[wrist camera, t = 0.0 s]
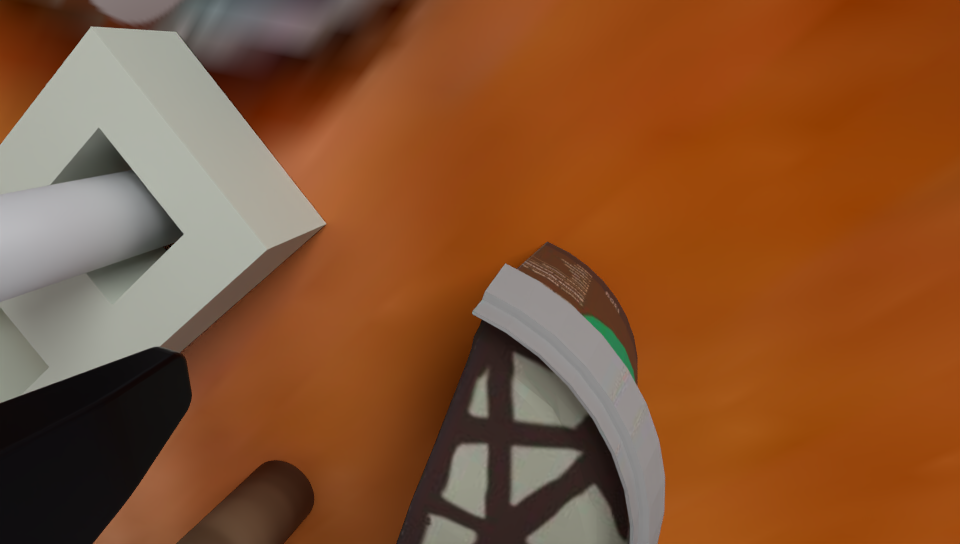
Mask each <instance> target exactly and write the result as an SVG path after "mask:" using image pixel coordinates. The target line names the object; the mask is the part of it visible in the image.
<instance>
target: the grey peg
mask: <svg viewBox="0 0 960 544" xmlns="http://www.w3.org/2000/svg"><path fill="white" fill-rule="evenodd" d="M183 235H184V234H183V232H182V231H181V230H180V229H179V227H178V226H177V225H176V224H175V222H174V221H173V220H172V219H171V217H170V216H169V215H168V214H167V212H166V211H165V210H164V209H163V207H162V206H161V205H160V203H159V202H158V201H157V200H156V198H155V197H154V196H153V195H152V193H151V192H150V191H149V190H148V188H147V187H146V186H145V185H144V183H143V182H142V181H141V180H140V178H139V177H138V176H137V175H136V173H135V172H134V171H133V170H128V171H123V172H117V173H112V174H107V175H101V176H96V177H90V178H85V179H80V180H74V181H69V182H64V183H58V184H53V185H48V186H42V187H37V188H31V189H26V190H21V191H15V192H10V193H5V194H0V302H2V301H5V300H8V299H11V298H14V297H17V296H20V295H23V294H25V293H28V292H31V291H34V290H37V289H40V288H43V287H46V286H49V285H52V284H55V283H58V282H61V281H63V280H66V279H69V278H72V277H75V276H78V275H81V274H84V273H87V272H90V271H93V270H96V269H99V268H102V267H104V266H107V265H110V264H113V263H116V262H119V261H122V260H125V259H128V258H131V257H134V256H137V255H140V254H142V253H145V252H148V251H151V250H154V249H157V248H160V247H163V246H166V245H169V244H172V243H175V242H176V241H178V240H179V239H180V238H181V237H182V236H183Z"/></svg>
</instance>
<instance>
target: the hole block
mask: <svg viewBox="0 0 960 544" xmlns="http://www.w3.org/2000/svg"><path fill="white" fill-rule="evenodd" d="M128 170H133V171H134V172H135V173H136V175H137V176H138V177H139V178H140V180H141V181H142V182H143V183H144V185H145V186H146V187H147V188H148V190H149V191H150V192H151V193H152V195H153V196H154V197H155V198H156V200H157V201H158V202H159V203H160V205H161V206H162V207H163V209H164V210H165V211H166V212H167V214H168V215H169V216H170V217H171V219H172V220H173V221H174V222H175V224H176V225H177V226H178V227H179V229H180V230H181V231H182V232H183V234H184V235H183V236H182V237H181V238H180V239H179V240H178V241H176V242H175V243H174V244H173V245H172V246H171V247H170V248H169V249H168V250H167V251H166V250H165V248H164V247H160V248H157V249H154V250H151V251H148V252H145V253H142V254H140V255H137V256H134V257H131V258H128V259H125V260H122V261H119V262H116V263H113V264H110V265H107V266H104V267H102V268H99V269H96V270H93V271H90V272H87V273H84V274H81V275H78V276H75V277H72V278H69V279H66V280H63V281H61V282H58V283H55V284H52V285H49V286H46V287H43V288H40V289H37V290H34V291H31V292H28V293H25V294H23V295H20V296H17V297H14V298H11V299H8V300H5V301H2V302H0V403H1V402H4V401H7V400H10V399H12V398H15V397H18V396H21V395H23V394H26V393H29V392H31V391H34V390H37V389H40V388H42V387H45V386H48V385H51V384H53V383H56V382H59V381H61V380H64V379H67V378H70V377H72V376H75V375H78V374H81V373H83V372H86V371H89V370H91V369H94V368H97V367H100V366H102V365H105V364H108V363H111V362H113V361H116V360H119V359H122V358H124V357H127V356H130V355H132V354H135V353H138V352H141V351H143V350H146V349H149V348H152V347H164V348H167V349H170V350H173V351H176V352H179V353H180V352H181V351H182V350H183V349H185V348H186V347H187V346H188V345H189V344H190V343H191V342H193V341H194V340H195V339H196V338H197V337H198V336H199V335H201V334H202V333H203V332H204V331H205V330H206V329H207V328H208V327H210V326H211V325H212V324H213V323H214V322H215V321H216V320H218V319H219V318H220V317H221V316H222V315H223V314H224V313H226V312H227V311H228V310H229V309H230V308H231V307H232V306H234V305H235V304H236V303H237V302H238V301H239V300H240V299H242V298H243V297H244V296H245V295H246V294H247V293H248V292H249V291H251V290H252V289H253V288H254V287H255V286H256V285H257V284H259V283H260V282H261V281H262V280H263V279H264V278H265V277H267V276H268V275H269V274H270V273H271V272H272V271H273V270H275V269H276V268H277V267H278V266H279V265H280V264H281V263H282V262H284V261H285V260H286V259H287V258H288V257H289V256H290V255H292V254H293V253H294V252H295V251H296V250H297V249H298V248H300V247H301V246H302V245H303V244H304V243H305V242H306V241H308V240H309V239H310V238H311V237H312V236H313V235H314V234H316V233H317V232H318V231H319V230H320V229H321V228H322V227H323V226H325V225H326V223H325V221H324V220H323V219H322V218H321V216H320V215H319V214H318V213H317V211H316V210H315V209H314V207H313V206H312V205H311V204H310V202H309V201H308V200H307V199H306V197H305V196H304V195H303V193H302V192H301V191H300V190H299V188H298V187H297V186H296V184H295V183H294V182H293V181H292V179H291V178H290V177H289V176H288V174H287V173H286V172H285V170H284V169H283V168H282V167H281V165H280V164H279V163H278V161H277V160H276V159H275V158H274V156H273V155H272V154H271V153H270V151H269V150H268V149H267V147H266V146H265V145H264V144H263V142H262V141H261V140H260V139H259V137H258V136H257V135H256V133H255V132H254V131H253V130H252V128H251V127H250V126H249V124H248V123H247V122H246V121H245V119H244V118H243V117H242V116H241V114H240V113H239V112H238V110H237V109H236V108H235V107H234V105H233V104H232V103H231V102H230V100H229V99H228V98H227V96H226V95H225V94H224V93H223V91H222V90H221V89H220V87H219V86H218V85H217V84H216V82H215V81H214V80H213V79H212V77H211V76H210V75H209V73H208V72H207V71H206V70H205V68H204V67H203V66H202V64H201V63H200V62H199V61H198V59H197V58H196V57H195V56H194V54H193V53H192V52H191V50H190V49H189V48H188V47H187V45H186V44H185V43H184V42H183V40H182V39H181V38H180V36H179V35H178V34H177V33H176V32H167V31H152V30H136V29H120V28H104V27H91V28H90V29H89V30H88V32H87V33H86V34H85V36H84V37H83V38H82V40H81V41H80V42H79V43H78V45H77V46H76V47H75V49H74V50H73V51H72V52H71V54H70V55H69V56H68V58H67V59H66V60H65V62H64V63H63V64H62V65H61V67H60V68H59V69H58V71H57V72H56V73H55V75H54V76H53V77H52V78H51V80H50V81H49V82H48V84H47V85H46V86H45V88H44V89H43V90H42V91H41V93H40V94H39V95H38V97H37V98H36V99H35V101H34V102H33V103H32V104H31V106H30V107H29V108H28V110H27V111H26V112H25V114H24V115H23V116H22V117H21V119H20V120H19V121H18V123H17V124H16V125H15V127H14V128H13V129H12V130H11V132H10V133H9V134H8V136H7V137H6V138H5V140H4V141H3V142H2V143H1V145H0V194H5V193H10V192H15V191H21V190H26V189H31V188H37V187H42V186H48V185H53V184H58V183H64V182H69V181H74V180H80V179H85V178H90V177H96V176H101V175H107V174H112V173H117V172H123V171H128Z"/></svg>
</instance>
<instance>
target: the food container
mask: <svg viewBox="0 0 960 544" xmlns="http://www.w3.org/2000/svg"><path fill="white" fill-rule="evenodd" d="M472 314H473V315H475V316H477V317H479V318H480V319H482V321H481V324H480V326H479V328H478V330H477V332H476V334H475V336H474V339H473V344H472V349H471V351H470V354H469V357H468V360H467V363H466V365H465V368H464V371H463V373H462V376H461V378H460V381H459V383H458V386H457V388H456V391H455V393H454V396H453V398H452V401H451V403H450V406H449V409H448V411H447V414H446V416H445V419H444V421H443V424H442V427H441V429H440V432H439V434H438V437H437V440H436V442H435V445H434V447H433V450H432V452H431V454H430V457H429V459H428V462H427V464H426V467H425V469H424V472H423V474H422V477H421V479H420V482H419V484H418V486H417V489H416V491H415V494H414V496H413V499H412V501H411V504H410V507H409V509H408V512H407V515H406V518H405V521H404V524H403V526H402V529H401V532H400V535H399V538H398V540H397V543H396V544H657V543H658V538H659V534H660V529H661V524H662V520H663V515H664V498H665V474H664V468H663V461H662V455H661V449H660V443H659V439H658V436H657V433H656V430H655V427H654V424H653V421H652V418H651V415H650V412H649V409H648V406H647V404H646V402H645V400H644V398H643V396H642V394H641V392H640V391H639V389H638V387H637V352H636V347H635V341H634V336H633V333H632V330H631V328H630V325H629V322H628V319H627V317H626V315H625V313H624V311H623V309H622V308H621V306H620V304H619V302H618V300H617V298H616V297H615V296H614V295H613V293H612V292H611V291H610V289H609V288H608V287H607V285H606V284H605V283H604V282H603V280H602V279H600V278H599V277H598V276H597V275H596V274H595V273H594V272H593V271H592V270H591V269H590V268H589V267H588V266H587V265H585V264H584V263H583V262H581V261H580V260H578V259H577V258H576V257H574V256H573V255H571V254H570V253H569V252H567V251H565V250H563V249H561V248H559V247H557V246H555V245H553V244H551V243H549V242H546V243H545V244H544V245H543V246H542V247H541V248H540V249H539V250H537V251H536V252H535V253H534V254H533V255H532V256H531V257H530V258H529V259H527V260H526V261H525V262H524V263H523V264H522V265H521V266H520V267H519V268H517V269H515V268H513V267H511V266H509V265H507V264H506V263H505V265H504V266H503V267H502V269H501V270H500V272H499V273H498V274H497V276H496V277H495V278H494V280H493V281H492V283H491V284H490V285H489V287H488V288H487V289H486V291H485V293H484V296H483V299H482V301H481V302H480V303H479V304H478V305H477V307H476V308H475V309H474V310H473V312H472Z"/></svg>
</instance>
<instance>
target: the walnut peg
mask: <svg viewBox="0 0 960 544" xmlns="http://www.w3.org/2000/svg"><path fill="white" fill-rule="evenodd" d="M313 504H314V494H313V490H312V487H311V484H310V482H309V481H308V479H307V478H306V476H305V475H304V474H303V473H302V472H301V471H300V470H299V469H297V468H296V467H295V466H293V465H291V464H289V463H287V462H283V461H277V460H274V461H268V462H265V463H264V464H262V465H261V466H259V467H258V468H257V469H256V470H255V471H254V472H253V473H252V474H251V475H250V476H249V477H248V478H247V479H245V480H244V481H243V482H242V483H241V484H240V485H239V486H238V487H237V488H236V489H235V490H234V491H232V492H231V493H230V494H229V495H228V496H227V497H226V498H225V499H224V500H223V501H222V502H221V503H220V504H218V505H217V506H216V507H215V508H214V509H213V510H212V511H211V512H210V513H209V514H208V515H207V516H206V517H204V518H203V519H202V520H201V521H200V522H199V523H198V524H197V525H196V526H195V527H194V528H193V529H191V530H190V531H189V532H188V533H187V534H186V535H185V536H184V537H183V538H182V539H181V540H180V541H179V542H177V543H176V544H283V543H284V542H285V541H286V540H287V539H288V538H289V536H290V535H291V534H292V533H293V532H294V531H295V529H296V528H297V527H298V526H299V525H300V524H301V522H302V521H303V520H304V519H305V518H306V517H307V515H308V514H309V513H310V512H311V510H312V508H313Z"/></svg>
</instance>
